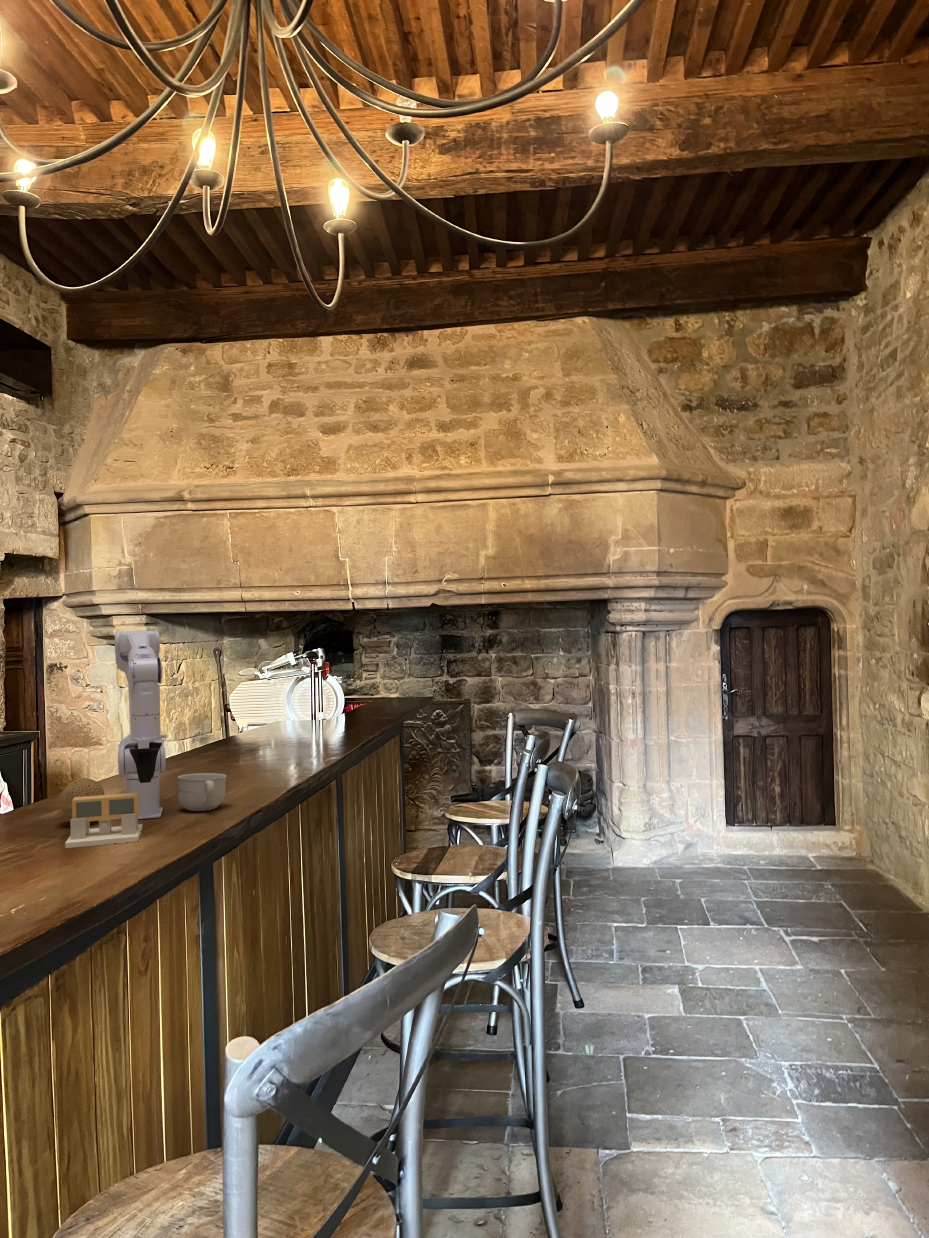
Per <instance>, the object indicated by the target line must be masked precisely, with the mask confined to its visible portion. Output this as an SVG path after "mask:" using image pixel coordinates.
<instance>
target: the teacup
mask: <svg viewBox="0 0 929 1238" xmlns="http://www.w3.org/2000/svg"><path fill="white" fill-rule="evenodd" d="M226 779H227V774H224V773H213V772H212V773H208V772H207V773H206V772H204V773H203V772H202V773H200V772H199V773H187V774H181V775H179V776H177V800H178V802H179V804H180V805H181V806H182V807H184V809H185V810H186V811H191V812H203V811H206V810H207V811H212V809H213V810H216V809H217V808H218V807H219V806H220V805H221V804H222V803H223V801H224V800H225V796H226V785H227V784H226V782H227V781H226ZM215 808H216V809H215ZM207 811H206V812H207Z"/></svg>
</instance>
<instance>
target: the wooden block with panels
mask: <svg viewBox="0 0 929 1238" xmlns="http://www.w3.org/2000/svg"><path fill="white" fill-rule="evenodd" d="M126 814H136V817H138V816H139V792H137V793H125V792H123V793H113V794H105V795H98V796H84V797H75V798H74V799H73V800H72V819H77V818H85V822H88V821H90V822H95V821H97V822H99V821H100V820H111V821H112V820H120V819H121V815H126Z"/></svg>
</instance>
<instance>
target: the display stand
mask: <svg viewBox="0 0 929 1238" xmlns="http://www.w3.org/2000/svg"><path fill="white" fill-rule="evenodd" d="M90 822H91V821H88V822H85V818H77V819H71V818H70V822H69V824H70V836H69V837H68V838H67V839H66V841H65V843H64V848H65V849H72V848H73V849H74V848H83V847H94V846H106V845H115V844H114V843H117V844H126V842H128V843H134V842H135V843H137V841H138V842H139V839H140V836H141V834H142V832H141V831H143V824H139V819H138V817H136V814H126V815H121V823H120V824H121V825H119V826H112V820H100V821H98V827H97V828H96V827H95V828H90V824H91V823H90ZM105 844H106V845H105Z"/></svg>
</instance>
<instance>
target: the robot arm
mask: <svg viewBox="0 0 929 1238" xmlns="http://www.w3.org/2000/svg"><path fill="white" fill-rule="evenodd" d="M160 638H161V636H160V632H159V631H158V630H157V629H153V630H121V631H120V630H116V631H115V633H114V655H115V664H116V669H117V670H120V671H121V672H123V673H124V674H125V677H126V681H127V685H128V687H127V688H128V708H129V725H130V726H129V731H130V733H129V734H128V735H126V736H125V737H124V738H122V739H121V740H120V741H119V744H118V745H117V746H118V747H117V748H118V750H117V751H118V752H117V767H118V768H117V770H118V771H117V772H118V775H119V776H120V777H124V793H137V792H139V816H138V820H143V819H145V820H146V819H156V818H157V819H159V818H161V816H162V812H163V809H164V808H163V807H162V806H161V807H160V777H161V774H163V773H164V772H165V771H166V764H167V763H166V749H165V745H164V740H163V739H166V738H168V737H167V734H165V733H163V734H161V732H162V731H161V688H160V687H161V686H160V685H161V684H162V680H163V663H162V660H161V657H160V649H161V639H160Z"/></svg>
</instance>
